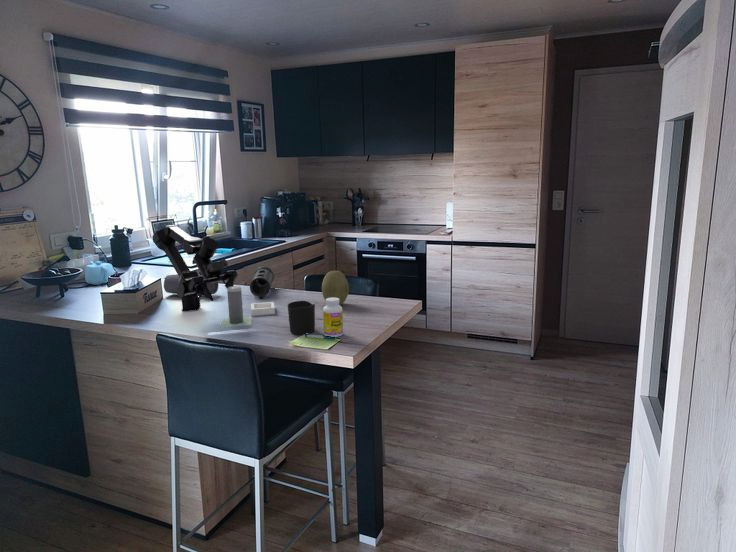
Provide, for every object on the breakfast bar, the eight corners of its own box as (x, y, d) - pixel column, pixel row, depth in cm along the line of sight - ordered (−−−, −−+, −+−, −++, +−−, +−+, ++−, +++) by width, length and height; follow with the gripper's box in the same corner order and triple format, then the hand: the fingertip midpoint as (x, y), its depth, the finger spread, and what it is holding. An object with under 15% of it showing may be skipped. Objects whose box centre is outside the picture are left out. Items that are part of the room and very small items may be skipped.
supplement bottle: (330, 339, 170) (329, 302, 168) (320, 334, 176) (318, 298, 173) (346, 335, 174) (345, 299, 171) (336, 330, 179) (335, 295, 177)
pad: (220, 330, 182) (220, 327, 182) (222, 321, 193) (221, 318, 193) (251, 327, 185) (251, 324, 184) (251, 318, 195) (251, 316, 195)
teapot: (104, 278, 273) (102, 257, 271) (120, 283, 262) (117, 261, 260) (80, 282, 264) (77, 261, 262) (95, 287, 253) (91, 265, 250)
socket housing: (251, 318, 196) (251, 309, 195) (251, 311, 205) (250, 303, 204) (275, 316, 198) (274, 307, 197) (274, 310, 207) (273, 301, 206)
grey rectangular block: (227, 323, 187) (224, 289, 184) (233, 319, 191) (231, 285, 189) (239, 324, 186) (237, 289, 183) (245, 320, 190) (243, 286, 188)
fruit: (354, 303, 214) (353, 269, 211) (338, 310, 205) (337, 274, 202) (332, 300, 220) (331, 266, 217) (316, 306, 211) (315, 271, 208)
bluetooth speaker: (163, 297, 230) (161, 276, 228) (175, 292, 239) (172, 272, 237) (210, 299, 226) (208, 277, 224) (219, 294, 235) (218, 273, 233)
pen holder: (317, 327, 184) (316, 300, 182) (313, 335, 175) (312, 307, 172) (291, 327, 184) (290, 300, 182) (286, 335, 175) (285, 307, 173)
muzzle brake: (249, 300, 224) (248, 277, 222) (255, 285, 251) (254, 265, 249) (271, 299, 225) (270, 276, 223) (275, 285, 252) (274, 264, 250)
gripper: (189, 256, 185) (208, 290, 180) (233, 249, 198) (252, 281, 194) (180, 274, 192) (198, 307, 187) (223, 266, 205) (241, 297, 200)
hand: (223, 297), depth 192 cm, fingers open, 9 cm apart
